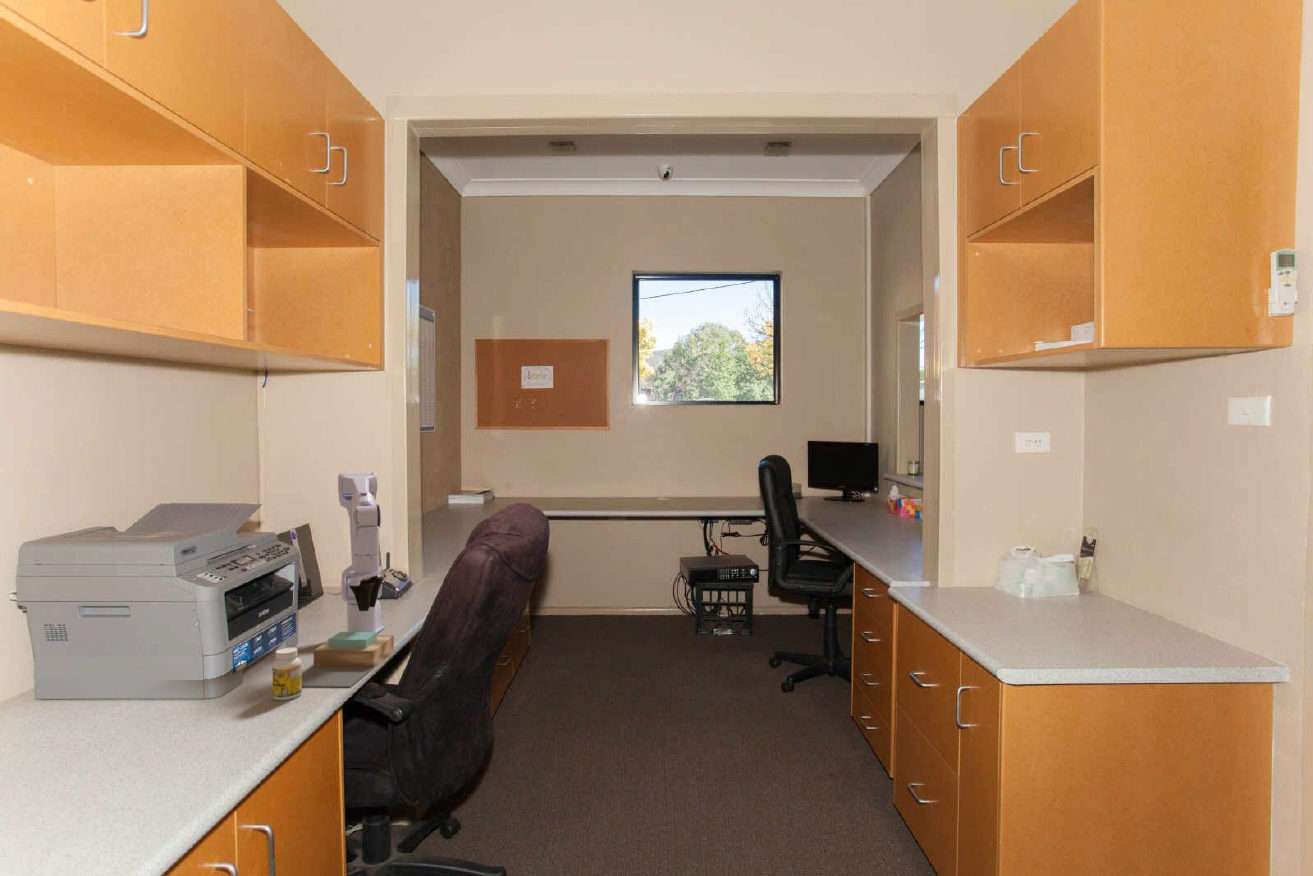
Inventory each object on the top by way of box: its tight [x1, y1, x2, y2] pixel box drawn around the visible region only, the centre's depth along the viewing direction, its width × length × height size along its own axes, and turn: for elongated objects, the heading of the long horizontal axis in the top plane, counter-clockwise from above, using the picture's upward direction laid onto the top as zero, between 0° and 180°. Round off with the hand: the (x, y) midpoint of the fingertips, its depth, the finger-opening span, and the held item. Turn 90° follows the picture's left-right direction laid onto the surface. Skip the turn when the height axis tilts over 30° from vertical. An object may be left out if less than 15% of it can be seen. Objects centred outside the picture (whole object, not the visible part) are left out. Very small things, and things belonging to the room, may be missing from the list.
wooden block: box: [313, 634, 395, 669], centre depth 174 cm, size 12×14×4 cm
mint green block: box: [327, 631, 378, 648], centre depth 172 cm, size 6×9×2 cm, turn 89°
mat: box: [302, 665, 375, 689], centre depth 162 cm, size 12×14×1 cm
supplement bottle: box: [271, 647, 303, 701], centre depth 151 cm, size 5×5×10 cm
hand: (367, 608), depth 180 cm, fingers open, 3 cm apart
